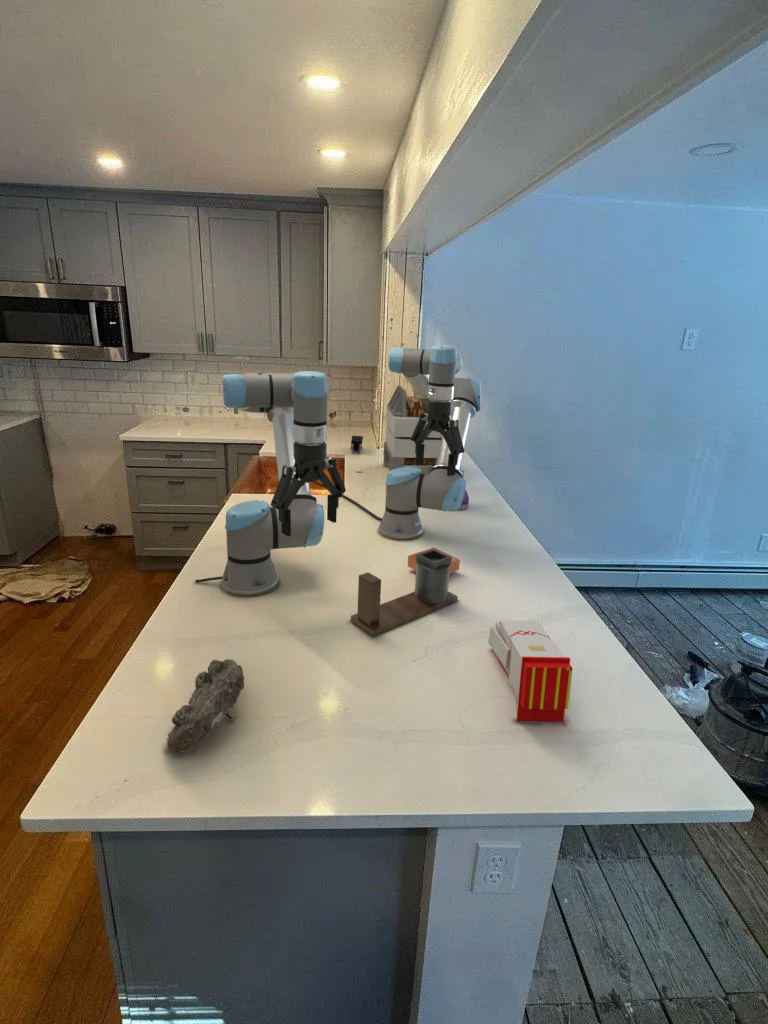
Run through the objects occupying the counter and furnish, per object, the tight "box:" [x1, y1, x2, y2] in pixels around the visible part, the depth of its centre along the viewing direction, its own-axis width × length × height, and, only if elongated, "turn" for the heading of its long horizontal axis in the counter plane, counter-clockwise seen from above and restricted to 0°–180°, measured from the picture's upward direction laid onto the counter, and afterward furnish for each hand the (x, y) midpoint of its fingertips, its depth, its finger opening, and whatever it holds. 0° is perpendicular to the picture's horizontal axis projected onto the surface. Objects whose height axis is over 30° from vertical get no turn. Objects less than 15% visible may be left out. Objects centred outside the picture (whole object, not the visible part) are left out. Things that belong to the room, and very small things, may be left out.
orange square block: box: [407, 547, 461, 574], centre depth 171 cm, size 11×11×5 cm
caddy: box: [350, 549, 459, 637], centre depth 147 cm, size 30×9×14 cm, turn 131°
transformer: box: [383, 384, 462, 472], centre depth 268 cm, size 34×33×41 cm
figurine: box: [457, 469, 470, 511], centre depth 227 cm, size 9×10×15 cm
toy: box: [488, 619, 573, 723], centre depth 122 cm, size 12×13×30 cm
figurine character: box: [350, 435, 364, 454], centre depth 309 cm, size 7×8×15 cm
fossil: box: [166, 658, 245, 754], centre depth 106 cm, size 22×10×15 cm
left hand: (309, 527), depth 137 cm, fingers open, 13 cm apart
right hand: (434, 469), depth 174 cm, fingers open, 13 cm apart
